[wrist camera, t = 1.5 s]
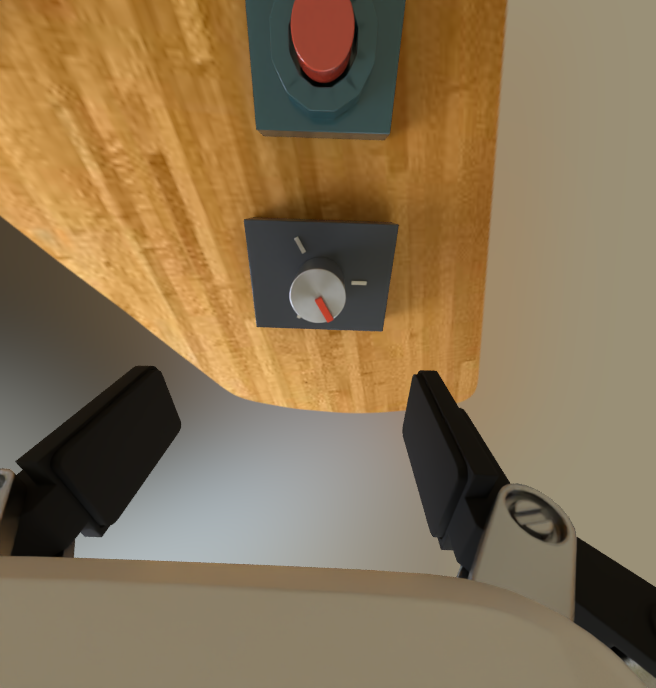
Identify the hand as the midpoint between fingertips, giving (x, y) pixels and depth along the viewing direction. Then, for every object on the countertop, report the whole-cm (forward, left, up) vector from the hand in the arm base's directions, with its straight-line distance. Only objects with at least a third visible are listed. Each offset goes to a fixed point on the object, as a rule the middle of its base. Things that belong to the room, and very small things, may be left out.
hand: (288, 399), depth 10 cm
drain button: (0, +15, -16) cm, 22 cm away
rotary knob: (0, 0, -16) cm, 16 cm away
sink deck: (0, 0, -19) cm, 19 cm away
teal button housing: (0, +15, -19) cm, 24 cm away
